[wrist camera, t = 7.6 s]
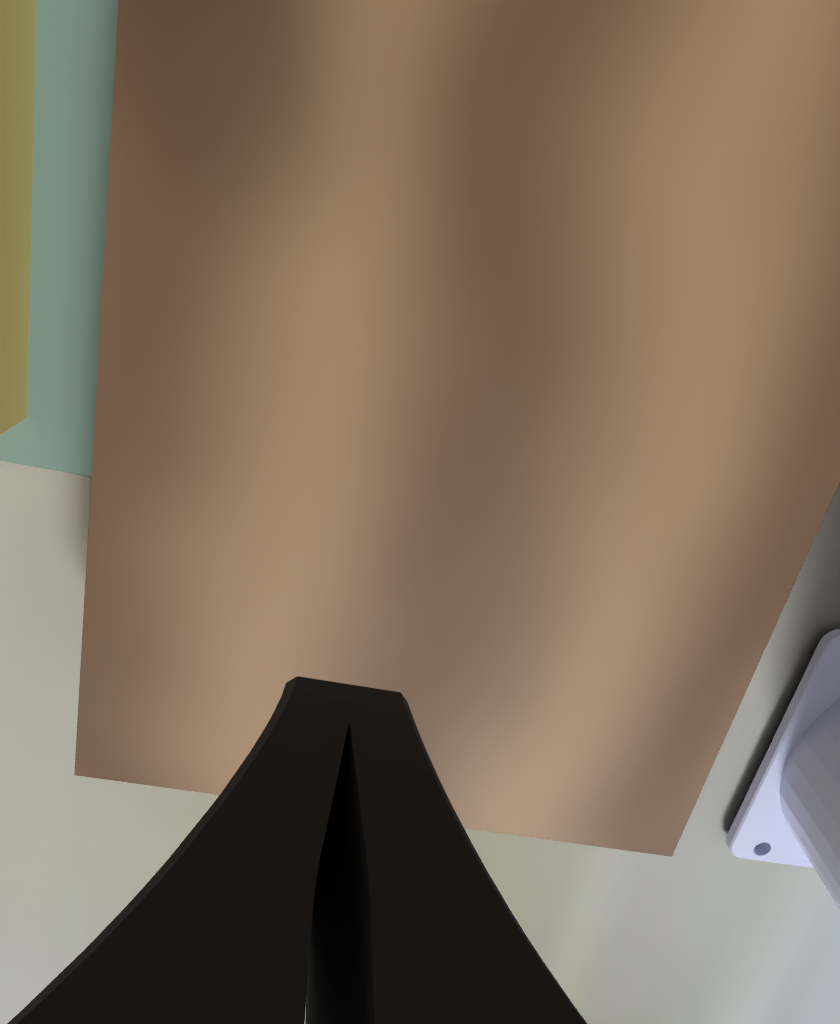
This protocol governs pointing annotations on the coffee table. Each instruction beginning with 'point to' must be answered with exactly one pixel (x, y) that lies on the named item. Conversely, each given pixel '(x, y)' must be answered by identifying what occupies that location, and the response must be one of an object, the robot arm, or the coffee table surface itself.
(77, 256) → the mat
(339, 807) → the robot arm
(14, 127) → the yellow rectangular block
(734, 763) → the coffee table surface
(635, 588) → the deck
